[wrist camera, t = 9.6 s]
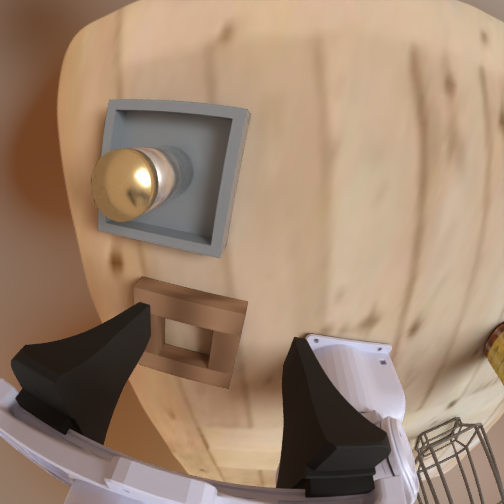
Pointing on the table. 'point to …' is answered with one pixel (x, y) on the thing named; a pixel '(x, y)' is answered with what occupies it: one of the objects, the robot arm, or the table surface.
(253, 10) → the table surface
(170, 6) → the table surface
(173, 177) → the gold and silver cylinder
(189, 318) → the block
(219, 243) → the tray
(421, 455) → the geometric lantern
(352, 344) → the robot arm
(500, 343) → the sauce bottle
